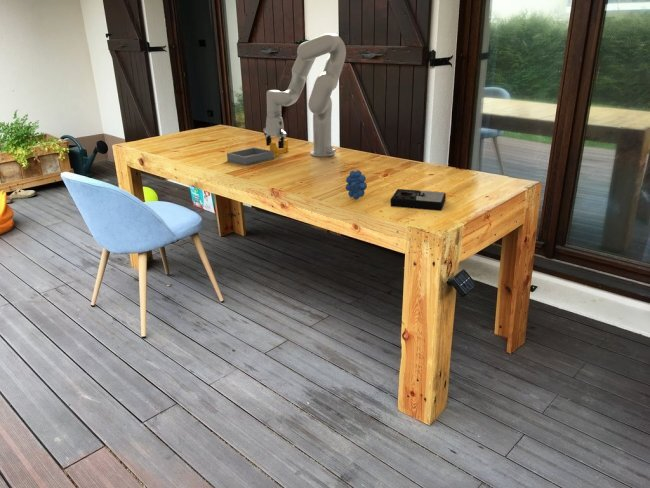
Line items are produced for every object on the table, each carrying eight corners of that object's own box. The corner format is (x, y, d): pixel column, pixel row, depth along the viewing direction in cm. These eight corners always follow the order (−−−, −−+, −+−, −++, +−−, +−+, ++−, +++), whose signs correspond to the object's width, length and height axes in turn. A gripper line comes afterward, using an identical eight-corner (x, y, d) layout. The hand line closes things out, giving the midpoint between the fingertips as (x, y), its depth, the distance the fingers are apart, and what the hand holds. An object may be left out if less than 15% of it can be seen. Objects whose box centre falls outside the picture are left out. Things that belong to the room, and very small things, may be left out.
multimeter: (396, 197, 212) (397, 185, 210) (445, 201, 206) (446, 189, 204) (389, 207, 200) (390, 194, 198) (441, 212, 195) (442, 199, 193)
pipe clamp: (282, 150, 291) (281, 138, 289) (288, 151, 289) (287, 139, 287) (267, 154, 282) (267, 142, 280) (274, 155, 280) (273, 143, 278)
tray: (273, 159, 273) (273, 151, 271) (246, 165, 261) (245, 157, 259) (254, 154, 282) (254, 147, 281) (227, 160, 270) (226, 153, 269)
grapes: (374, 200, 206) (374, 170, 202) (360, 204, 203) (361, 173, 198) (354, 193, 215) (354, 165, 210) (341, 197, 211) (341, 167, 207)
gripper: (290, 115, 276) (290, 148, 282) (268, 111, 287) (269, 143, 293) (279, 117, 271) (280, 150, 277) (258, 113, 282) (259, 145, 288)
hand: (274, 146), depth 285 cm, fingers open, 9 cm apart
